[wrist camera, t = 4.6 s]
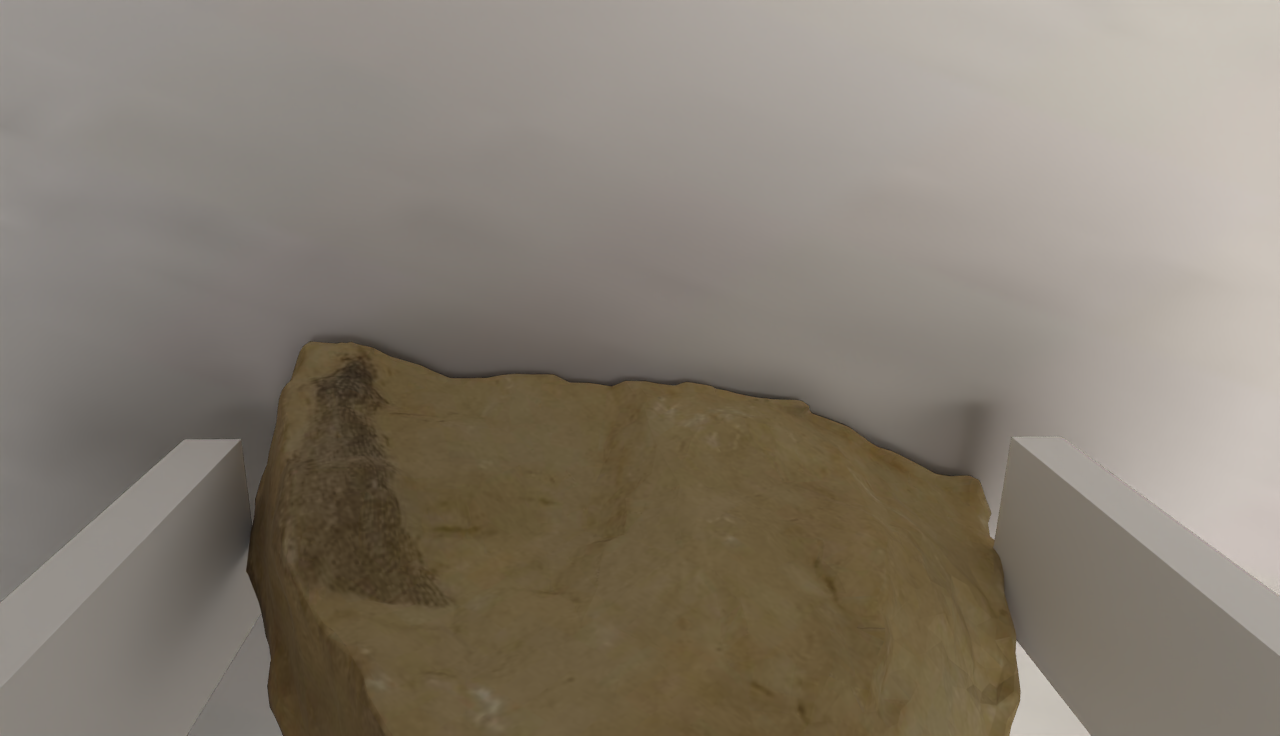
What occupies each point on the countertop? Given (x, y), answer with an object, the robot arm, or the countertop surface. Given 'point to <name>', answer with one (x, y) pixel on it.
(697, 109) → the countertop surface
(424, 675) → the rock
